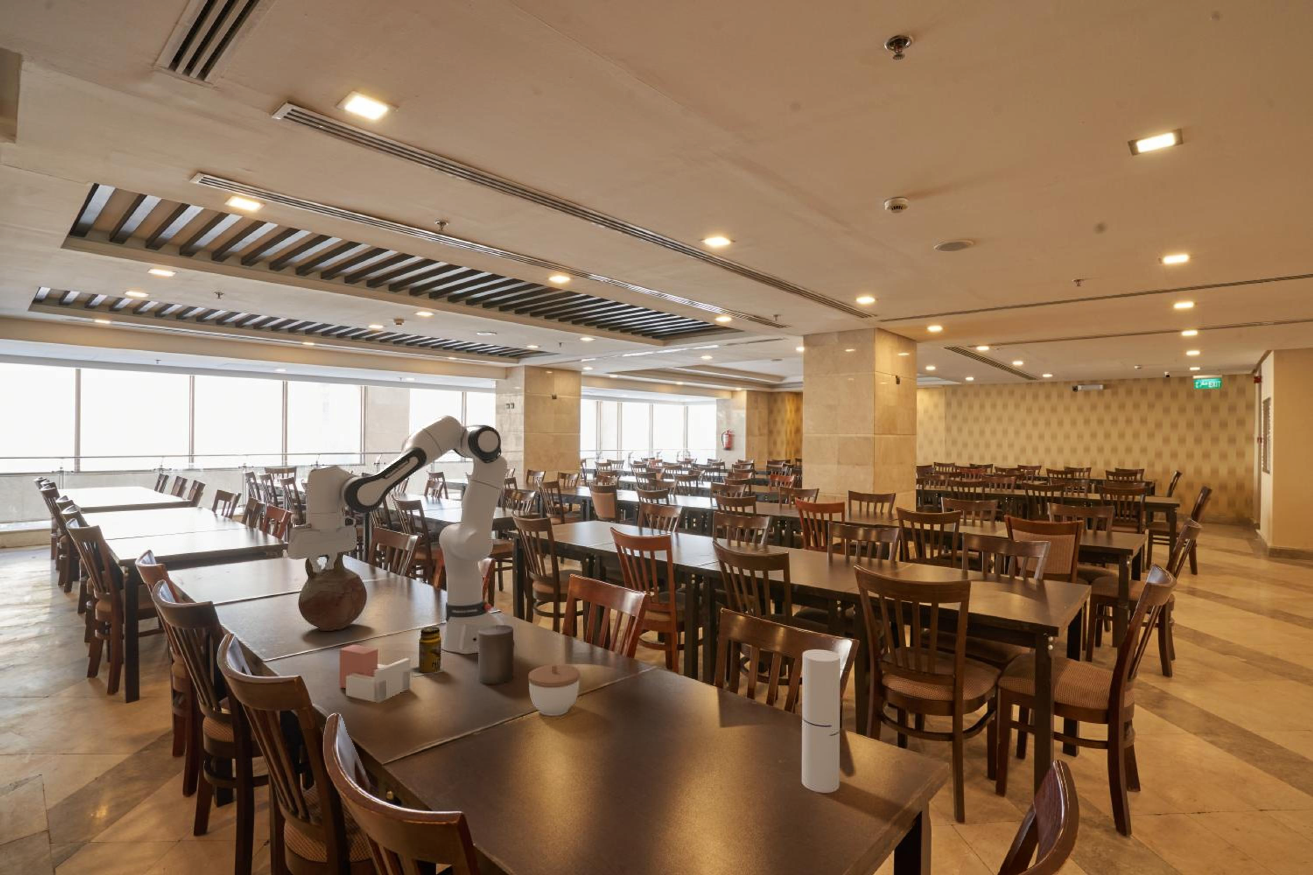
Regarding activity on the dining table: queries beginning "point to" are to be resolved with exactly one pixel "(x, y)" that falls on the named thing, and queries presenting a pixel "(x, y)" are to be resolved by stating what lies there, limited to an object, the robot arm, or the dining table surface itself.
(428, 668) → the condiment
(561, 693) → the white lidded jar
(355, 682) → the dock
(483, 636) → the pillar candle
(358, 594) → the jug
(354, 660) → the plug
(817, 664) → the cylindrical container
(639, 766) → the dining table surface
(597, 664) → the dining table surface
